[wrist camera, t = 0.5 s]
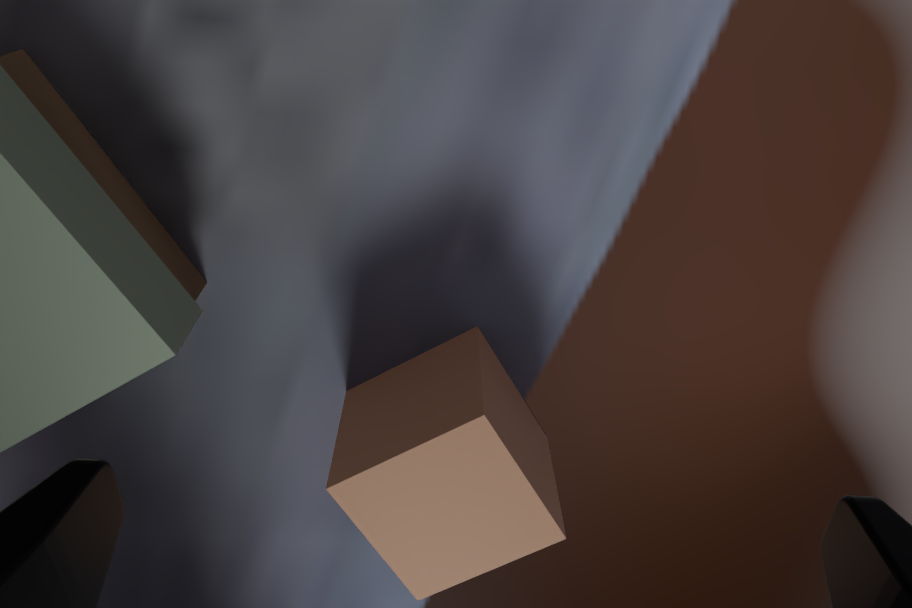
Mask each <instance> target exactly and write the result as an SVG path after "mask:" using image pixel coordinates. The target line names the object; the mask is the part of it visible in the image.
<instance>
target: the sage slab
mask: <svg viewBox="0 0 912 608" xmlns="http://www.w3.org/2000/svg"><path fill="white" fill-rule="evenodd" d="M202 311H203V310H202V309H201V308H200V307H199V306H198V304H197V303H196V302H195V301H194V299H193V298H192V297H191V296H190V295H189V293H188V292H187V291H186V290H185V289H184V287H183V286H182V285H181V284H180V282H179V281H178V280H177V279H176V278H175V276H174V275H173V274H172V273H171V272H170V270H169V269H168V268H167V267H166V265H165V264H164V263H163V262H162V261H161V259H160V258H159V257H158V256H157V255H156V253H155V252H154V251H153V250H152V248H151V247H150V246H149V245H148V244H147V242H146V241H145V240H144V239H143V238H142V236H141V235H140V234H139V233H138V231H137V230H136V229H135V228H134V227H133V225H132V224H131V223H130V222H129V221H128V219H127V218H126V217H125V216H124V214H123V213H122V212H121V211H120V210H119V208H118V207H117V206H116V205H115V204H114V202H113V201H112V200H111V199H110V197H109V196H108V195H107V194H106V193H105V191H104V190H103V189H102V188H101V187H100V185H99V184H98V183H97V182H96V180H95V179H94V178H93V177H92V176H91V174H90V173H89V172H88V171H87V170H86V168H85V167H84V166H83V165H82V163H81V162H80V161H79V160H78V159H77V157H76V156H75V155H74V154H73V153H72V151H71V150H70V149H69V148H68V146H67V145H66V144H65V143H64V142H63V140H62V139H61V138H60V137H59V136H58V134H57V133H56V132H55V131H54V129H53V128H52V127H51V126H50V125H49V123H48V122H47V121H46V120H45V119H44V117H43V116H42V115H41V114H40V112H39V111H38V110H37V109H36V108H35V106H34V105H33V104H32V103H31V102H30V100H29V99H28V98H27V97H26V95H25V94H24V93H23V92H22V91H21V89H20V88H19V87H18V86H17V85H16V83H15V82H14V81H13V80H12V78H11V77H10V76H9V75H8V74H7V72H6V71H5V70H4V69H3V68H2V66H1V65H0V452H2V451H4V450H6V449H8V448H9V447H11V446H13V445H15V444H17V443H18V442H20V441H22V440H24V439H26V438H27V437H29V436H31V435H33V434H35V433H37V432H38V431H40V430H42V429H44V428H46V427H47V426H49V425H51V424H53V423H55V422H56V421H58V420H60V419H62V418H64V417H65V416H67V415H69V414H71V413H73V412H74V411H76V410H78V409H80V408H82V407H83V406H85V405H87V404H89V403H91V402H92V401H94V400H96V399H98V398H100V397H101V396H103V395H105V394H107V393H109V392H110V391H112V390H114V389H116V388H118V387H119V386H121V385H123V384H125V383H127V382H128V381H130V380H132V379H134V378H136V377H137V376H139V375H141V374H143V373H145V372H146V371H148V370H150V369H152V368H154V367H155V366H157V365H159V364H161V363H163V362H164V361H166V360H168V359H170V358H172V357H173V356H175V355H176V354H177V352H178V351H179V349H180V347H181V346H182V344H183V342H184V341H185V339H186V338H187V336H188V334H189V333H190V331H191V329H192V328H193V326H194V324H195V323H196V321H197V319H198V318H199V316H200V314H201V313H202Z"/></svg>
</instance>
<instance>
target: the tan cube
mask: <svg viewBox="0 0 912 608" xmlns="http://www.w3.org/2000/svg"><path fill="white" fill-rule="evenodd" d="M326 490H327V491H328V492H329V493H330V494H331V496H332V497H333V498H334V499H335V501H336V502H337V503H338V504H339V505H340V507H341V508H342V509H343V510H344V511H345V513H346V514H347V515H348V516H349V518H350V519H351V520H352V521H353V522H354V524H355V525H356V526H357V527H358V529H359V530H360V531H361V532H362V533H363V535H364V536H365V537H366V538H367V539H368V541H369V542H370V543H371V544H372V546H373V547H374V548H375V549H376V550H377V552H378V553H379V554H380V555H381V557H382V558H383V559H384V560H385V561H386V563H387V564H388V565H389V566H390V567H391V569H392V570H393V571H394V572H395V574H396V575H397V576H398V577H399V578H400V580H401V581H402V582H403V583H404V585H405V586H406V587H407V588H408V589H409V591H410V592H411V593H412V594H413V595H414V597H415V598H416V599H417V600H421V599H423V598H426V597H428V596H430V595H433V594H435V593H437V592H440V591H442V590H445V589H447V588H449V587H452V586H454V585H457V584H459V583H461V582H464V581H466V580H468V579H471V578H473V577H476V576H478V575H480V574H483V573H485V572H488V571H490V570H492V569H495V568H497V567H500V566H502V565H504V564H507V563H509V562H511V561H514V560H516V559H519V558H521V557H523V556H526V555H528V554H531V553H533V552H535V551H538V550H540V549H543V548H545V547H547V546H549V545H552V544H554V543H557V542H559V541H562V540H564V539H566V535H565V529H564V524H563V519H562V514H561V509H560V504H559V498H558V494H557V488H556V483H555V478H554V473H553V468H552V463H551V457H550V452H549V447H548V442H547V437H546V434H545V432H544V430H543V429H542V427H541V426H540V424H539V422H538V421H537V419H536V418H535V416H534V415H533V413H532V411H531V410H530V408H529V406H528V405H527V403H526V402H525V401H524V400H523V398H522V396H521V395H520V393H519V392H518V390H517V388H516V387H515V385H514V384H513V382H512V380H511V379H510V377H509V376H508V374H507V372H506V371H505V369H504V368H503V366H502V364H501V363H500V361H499V360H498V358H497V356H496V355H495V353H494V352H493V350H492V348H491V347H490V345H489V344H488V342H487V341H486V339H485V337H484V336H483V334H482V333H481V331H480V329H479V328H478V326H476V327H474V328H472V329H470V330H468V331H466V332H464V333H462V334H460V335H458V336H456V337H454V338H452V339H450V340H448V341H446V342H444V343H442V344H440V345H438V346H436V347H434V348H432V349H430V350H428V351H426V352H424V353H422V354H420V355H418V356H416V357H414V358H412V359H410V360H408V361H406V362H404V363H402V364H400V365H398V366H396V367H394V368H392V369H390V370H388V371H386V372H384V373H382V374H380V375H378V376H376V377H374V378H372V379H370V380H368V381H366V382H364V383H362V384H360V385H358V386H355V387H353V388H351V389H349V390H347V391H346V395H345V400H344V405H343V410H342V414H341V419H340V424H339V429H338V434H337V439H336V443H335V448H334V453H333V458H332V463H331V467H330V472H329V477H328V482H327V487H326Z"/></svg>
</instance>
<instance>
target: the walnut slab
mask: <svg viewBox="0 0 912 608" xmlns="http://www.w3.org/2000/svg"><path fill="white" fill-rule="evenodd" d="M0 65H1V66H2V68H3V69H4V70H5V71H6V72H7V74H8V75H9V76H10V77H11V78H12V80H13V81H14V82H15V83H16V85H17V86H18V87H19V88H20V89H21V91H22V92H23V93H24V94H25V95H26V97H27V98H28V99H29V100H30V102H31V103H32V104H33V105H34V106H35V108H36V109H37V110H38V111H39V112H40V114H41V115H42V116H43V117H44V119H45V120H46V121H47V122H48V123H49V125H50V126H51V127H52V128H53V129H54V131H55V132H56V133H57V134H58V136H59V137H60V138H61V139H62V140H63V142H64V143H65V144H66V145H67V146H68V148H69V149H70V150H71V151H72V153H73V154H74V155H75V156H76V157H77V159H78V160H79V161H80V162H81V163H82V165H83V166H84V167H85V168H86V170H87V171H88V172H89V173H90V174H91V176H92V177H93V178H94V179H95V180H96V182H97V183H98V184H99V185H100V187H101V188H102V189H103V190H104V191H105V193H106V194H107V195H108V196H109V197H110V199H111V200H112V201H113V202H114V204H115V205H116V206H117V207H118V208H119V210H120V211H121V212H122V213H123V214H124V216H125V217H126V218H127V219H128V221H129V222H130V223H131V224H132V225H133V227H134V228H135V229H136V230H137V231H138V233H139V234H140V235H141V236H142V238H143V239H144V240H145V241H146V242H147V244H148V245H149V246H150V247H151V248H152V250H153V251H154V252H155V253H156V255H157V256H158V257H159V258H160V259H161V261H162V262H163V263H164V264H165V265H166V267H167V268H168V269H169V270H170V272H171V273H172V274H173V275H174V276H175V278H176V279H177V280H178V281H179V282H180V284H181V285H182V286H183V287H184V289H185V290H186V291H187V292H188V293H189V295H190V296H191V297H192V298H193V299H194V301H195V300H196V299H197V297H198V296H199V294H200V292H201V291H202V289H203V288H204V286H205V285H206V283H207V282H206V281H205V279H204V278H203V277H202V276H201V274H200V273H199V272H198V271H197V269H196V268H195V267H194V265H193V264H192V263H191V262H190V260H189V259H188V258H187V257H186V255H185V254H184V253H183V252H182V250H181V249H180V248H179V246H178V245H177V244H176V243H175V241H174V240H173V239H172V238H171V236H170V235H169V234H168V232H167V231H166V230H165V229H164V227H163V226H162V225H161V224H160V222H159V221H158V220H157V218H156V217H155V216H154V215H153V213H152V212H151V211H150V210H149V208H148V207H147V206H146V204H145V203H144V202H143V201H142V199H141V198H140V197H139V196H138V194H137V193H136V192H135V190H134V189H133V188H132V187H131V185H130V184H129V183H128V182H127V180H126V179H125V178H124V176H123V175H122V174H121V173H120V171H119V170H118V169H117V168H116V166H115V165H114V164H113V162H112V161H111V160H110V159H109V157H108V156H107V155H106V154H105V152H104V151H103V150H102V149H101V147H100V146H99V145H98V143H97V142H96V141H95V140H94V138H93V137H92V136H91V135H90V133H89V132H88V131H87V129H86V128H85V127H84V126H83V124H82V123H81V122H80V121H79V119H78V118H77V117H76V115H75V114H74V113H73V112H72V110H71V109H70V108H69V107H68V105H67V104H66V103H65V101H64V100H63V99H62V98H61V96H60V95H59V94H58V93H57V91H56V90H55V89H54V87H53V86H52V85H51V84H50V82H49V81H48V80H47V79H46V77H45V76H44V75H43V73H42V72H41V71H40V70H39V68H38V67H37V66H36V65H35V63H34V62H33V61H32V59H31V58H30V57H29V56H28V54H27V53H26V52H25V51H24V49H21V50H18V51H15V52H11V53H8V54H5V55H2V56H0Z"/></svg>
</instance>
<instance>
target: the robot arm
mask: <svg viewBox="0 0 912 608" xmlns="http://www.w3.org/2000/svg"><path fill="white" fill-rule="evenodd" d="M123 519H124V503H123V499H122V497H121V494H120V491H119V488H118V485H117V482H116V479H115V476H114V473H113V470H112V468H111V466H110V464H109V463H108V462H107V461H105V460H100V459H74V460H71V461H69V462H68V463H66V464H65V465H63V466H62V467H60V468H59V469H58V470H56V471H55V472H54V473H52V474H51V475H50V476H48V477H47V478H45V479H44V480H43V481H41V482H40V483H39V484H37V485H36V486H35V487H33V488H32V489H30V490H29V491H28V492H26V493H25V494H24V495H22V496H21V497H19V498H18V499H17V500H15V501H14V502H13V503H11V504H10V505H9V506H7V507H6V508H4V509H3V510H2V511H0V608H96V607H97V604H98V601H99V598H100V594H101V591H102V588H103V585H104V582H105V578H106V575H107V572H108V569H109V565H110V562H111V559H112V556H113V553H114V549H115V546H116V543H117V540H118V536H119V533H120V530H121V527H122V523H123ZM821 558H822V563H823V568H824V572H825V576H826V580H827V586H828V590H829V595H830V599H831V604H832V608H912V525H911V524H910V523H908V522H907V521H906V520H905V519H904V518H903V517H901V516H900V515H899V514H898V513H897V512H896V511H894V510H893V509H892V508H891V507H890V506H889V505H888V504H886V503H885V502H884V501H882V500H881V499H879V498H876V497H867V496H844V497H842V499H840V500H839V502H838V503H837V505H836V507H835V510H834V512H833V514H832V517H831V519H830V521H829V523H828V526H827V528H826V530H825V533H824V535H823V538H822V541H821Z"/></svg>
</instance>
